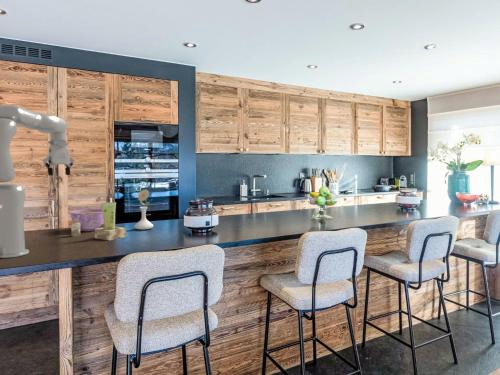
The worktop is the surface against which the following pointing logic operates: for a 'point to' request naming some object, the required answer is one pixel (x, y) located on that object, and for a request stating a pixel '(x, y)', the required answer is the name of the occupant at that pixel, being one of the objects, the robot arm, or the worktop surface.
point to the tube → (109, 215)
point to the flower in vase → (143, 212)
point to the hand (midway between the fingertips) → (59, 175)
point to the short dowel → (75, 229)
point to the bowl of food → (88, 218)
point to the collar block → (110, 233)
